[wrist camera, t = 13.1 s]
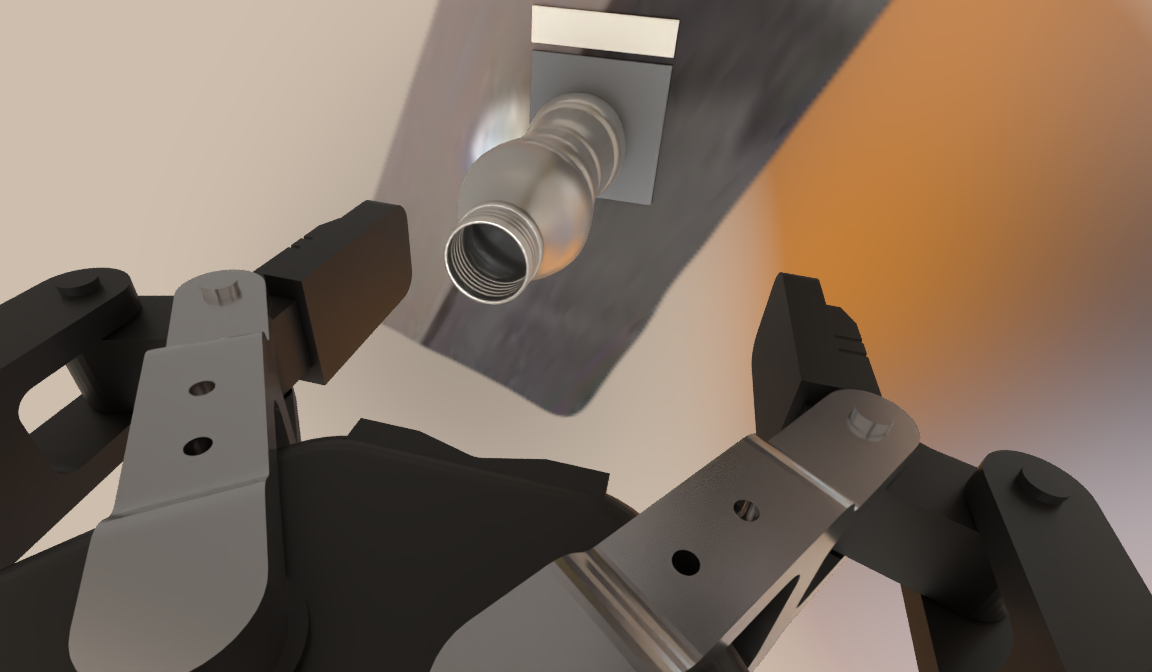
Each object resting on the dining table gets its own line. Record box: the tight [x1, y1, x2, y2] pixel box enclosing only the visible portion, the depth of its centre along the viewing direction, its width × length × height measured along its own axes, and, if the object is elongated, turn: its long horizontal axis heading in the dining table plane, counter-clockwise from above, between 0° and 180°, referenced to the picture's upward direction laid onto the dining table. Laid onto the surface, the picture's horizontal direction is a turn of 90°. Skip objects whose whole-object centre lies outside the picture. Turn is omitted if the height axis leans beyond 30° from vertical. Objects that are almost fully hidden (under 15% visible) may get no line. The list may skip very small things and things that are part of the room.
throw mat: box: [530, 5, 679, 205], centre depth 38 cm, size 12×9×1 cm
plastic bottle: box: [444, 93, 626, 305], centre depth 30 cm, size 6×7×20 cm
